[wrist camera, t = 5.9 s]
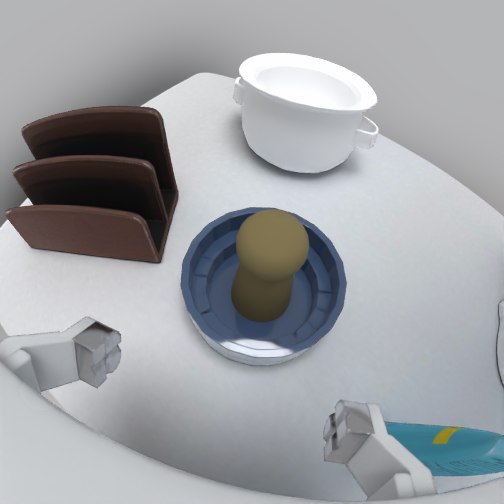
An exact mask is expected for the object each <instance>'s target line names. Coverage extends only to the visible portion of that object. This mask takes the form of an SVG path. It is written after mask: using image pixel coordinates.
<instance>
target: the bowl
mask: <svg viewBox="0 0 504 504" xmlns="http://www.w3.org/2000/svg"><path fill="white" fill-rule="evenodd" d="M267 209H276V208H261V207H250V208H246V209H241V210H237V211H233V212H229V213H227V214H225V215H223V216H221V217H220V218H218V219H216V220H214V221H213V222H211V223H209V224H208V225H207V226H206V227H205V228H204V229H203V230H202V231H201V232H200V233H199V234H198V235H197V236H196V237H195V238H194V239H193V241H192V242H191V244H190V247H189V249H188V251H187V253H186V255H185V258H184V260H183V263H182V275H181V289H182V293H183V297H184V300H185V304H186V308H187V311H188V313H189V315H190V317H191V319H192V321H193V324H194V326H195V327H196V329H197V330H198V331H199V333H200V334H201V336H202V337H203V338H204V340H205V341H206V342H207V344H208V345H209V346H211V347H212V348H214V349H215V350H216V351H218V352H219V353H221V354H222V355H224V356H225V357H226V358H228V359H231V360H234V361H238V362H241V363H244V364H248V365H251V366H252V365H253V366H260V365H278V364H281V363H283V362H286V361H289V360H291V359H294V358H296V357H299V356H300V355H302V354H303V353H304V352H305V351H307V350H308V349H309V348H311V347H312V346H313V345H314V344H315V343H316V342H318V341H319V340H320V339H321V338H322V337H323V336H324V335H326V334H327V333H328V332H329V331H330V330H331V329H332V327H333V326H334V324H335V322H336V320H337V318H338V316H339V315H340V313H341V311H342V309H343V306H344V299H345V293H346V285H347V282H346V277H345V272H344V267H343V262H342V260H341V258H340V256H339V254H338V253H337V251H336V249H335V247H334V245H333V243H332V242H331V240H330V239H329V238H328V237H327V236H326V235H325V234H324V233H323V232H322V231H321V230H320V229H318V228H317V227H316V226H315V225H314V224H312V223H310V222H309V221H307V220H305V219H303V218H302V217H300V216H298V215H296V214H294V213H290V212H288V213H289V214H291V215H293V216H294V217H296V218H297V219H298V220H299V221H300V222H301V223H302V225H303V226H304V228H305V230H306V232H307V234H308V239H309V251H308V255H307V259H306V261H305V263H304V264H303V265H302V267H301V268H300V270H299V271H297V272H296V273H295V274H294V281H293V288H292V295H291V300H290V303H289V307H288V308H287V310H286V311H285V313H284V314H283V315H281V316H280V317H279V318H277V319H276V320H273V321H270V322H254V321H251V320H248V319H246V318H245V317H243V316H242V315H240V314H239V313H238V311H237V310H236V309H235V307H234V306H233V303H232V299H231V288H232V284H233V281H234V278H235V275H236V272H237V269H238V266H239V263H240V260H239V257H238V254H237V252H236V236H237V234H238V232H239V229H240V227H241V225H242V223H243V222H244V221H245V220H246V219H247V218H248V217H250V216H251V215H253V214H255V213H257V212H259V211H262V210H267ZM277 210H279V209H277ZM281 211H283V210H281ZM285 212H287V211H285Z"/></svg>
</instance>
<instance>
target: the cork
mask: <svg viewBox="0 0 504 504" xmlns="http://www.w3.org/2000/svg"><path fill="white" fill-rule="evenodd" d="M308 251H309V239H308V234H307V232H306V230H305V228H304V226H303V225H302V223H301V222H300V221H299V220H298V219H297V218H296V217H294V216H293V215H291V214H289V213H288V212H285V211H281V210H277V209H267V210H262V211H259V212H257V213H255V214H253V215H251V216H250V217H248V218H247V219H246V220H245V221H244V222H243V223H242V225H241V227H240V229H239V232H238V234H237V236H236V252H237V254H238V257H239V260H240V263H239V266H238V269H237V272H236V275H235V278H234V281H233V284H232V288H231V299H232V303H233V306H234V307H235V309H236V310H237V311H238V313H239V314H240V315H242V316H243V317H245V318H246V319H248V320H251V321H254V322H270V321H273V320H276V319H277V318H279V317H280V316H281V315H283V314H284V313H285V311H286V310H287V308H288V307H289V303H290V300H291V295H292V288H293V281H294V274H295V273H296V272H297V271H299V270H300V268H301V267H302V265H303V264H304V263H305V261H306V259H307V255H308Z"/></svg>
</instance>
